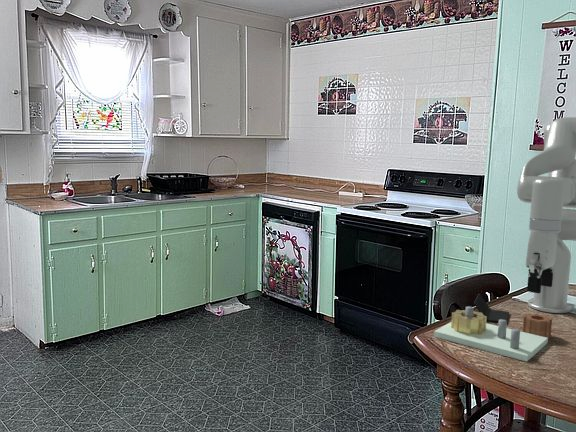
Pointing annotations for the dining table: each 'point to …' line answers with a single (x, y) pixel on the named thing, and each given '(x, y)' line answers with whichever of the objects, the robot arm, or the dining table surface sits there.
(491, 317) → the dark grey angled bracket
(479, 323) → the brass gear
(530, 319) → the rust gear
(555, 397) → the dining table surface
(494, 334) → the gear board
